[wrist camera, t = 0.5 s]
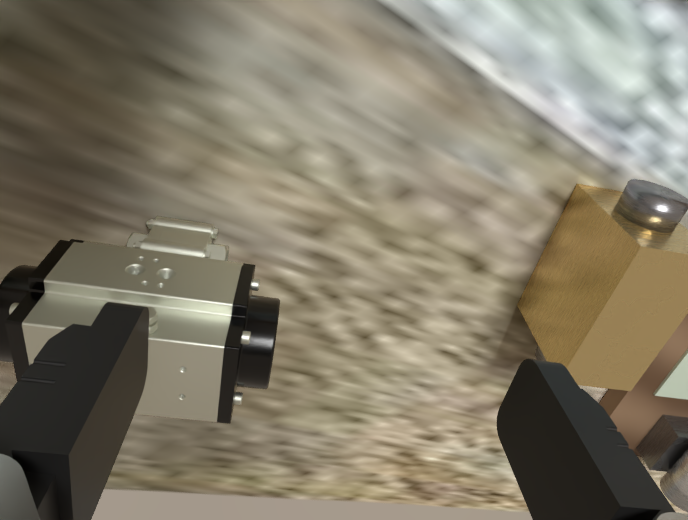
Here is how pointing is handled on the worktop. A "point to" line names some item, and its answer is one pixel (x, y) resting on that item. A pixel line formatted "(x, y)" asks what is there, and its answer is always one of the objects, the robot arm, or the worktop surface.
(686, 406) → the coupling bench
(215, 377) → the pneumatic valve
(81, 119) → the worktop surface
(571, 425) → the robot arm
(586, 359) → the coupling block
